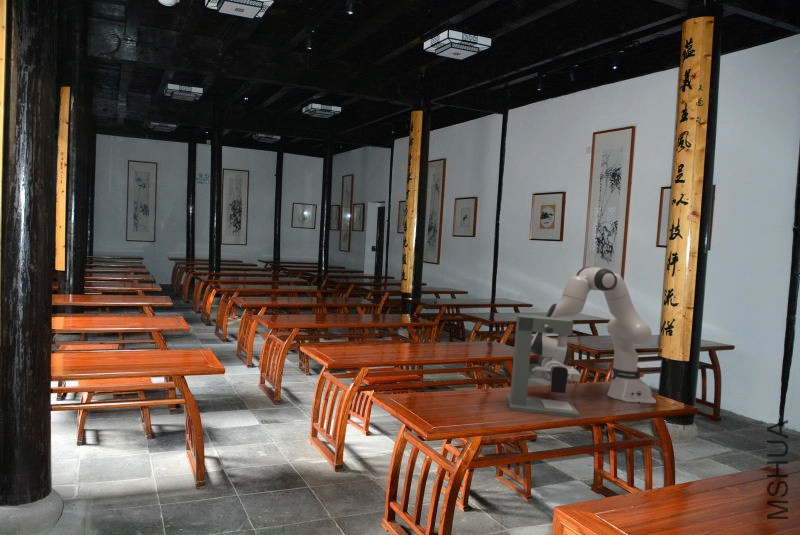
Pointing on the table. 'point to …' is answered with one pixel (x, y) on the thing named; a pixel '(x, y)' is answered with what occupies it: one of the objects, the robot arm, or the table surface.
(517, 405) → the press
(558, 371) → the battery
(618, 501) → the table surface
